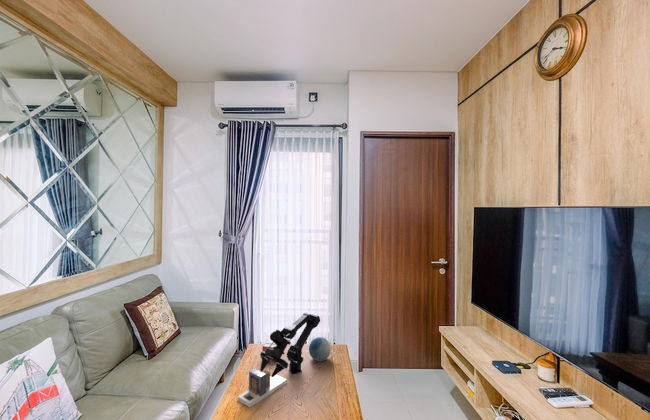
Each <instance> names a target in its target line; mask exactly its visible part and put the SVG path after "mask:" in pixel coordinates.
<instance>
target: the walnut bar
mask: <svg viewBox="0 0 650 420" xmlns="http://www.w3.org/2000/svg"><path fill="white" fill-rule="evenodd" d="M262 372H263V373H265V374H266V389H267V388H268V387H270V377H271V372H269V371H267V370H263V371H262ZM252 393H254V394H256V395H257V394H259V379H258V378H256V377H252Z"/></svg>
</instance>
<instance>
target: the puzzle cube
mask: <svg viewBox="0 0 650 420" xmlns="http://www.w3.org/2000/svg"><path fill="white" fill-rule="evenodd" d="M273 347H276V344H275V343H274V342H273V341H272V340H271V339H268V340H267V341H266V342H265V343H264V344H263V345H262V351H264V352H266V349H267V348H271V349H273ZM262 351H261V352H262ZM275 360H276V359H275ZM267 361H269V362H270V363H275V362H274V361H272V360H267Z"/></svg>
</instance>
